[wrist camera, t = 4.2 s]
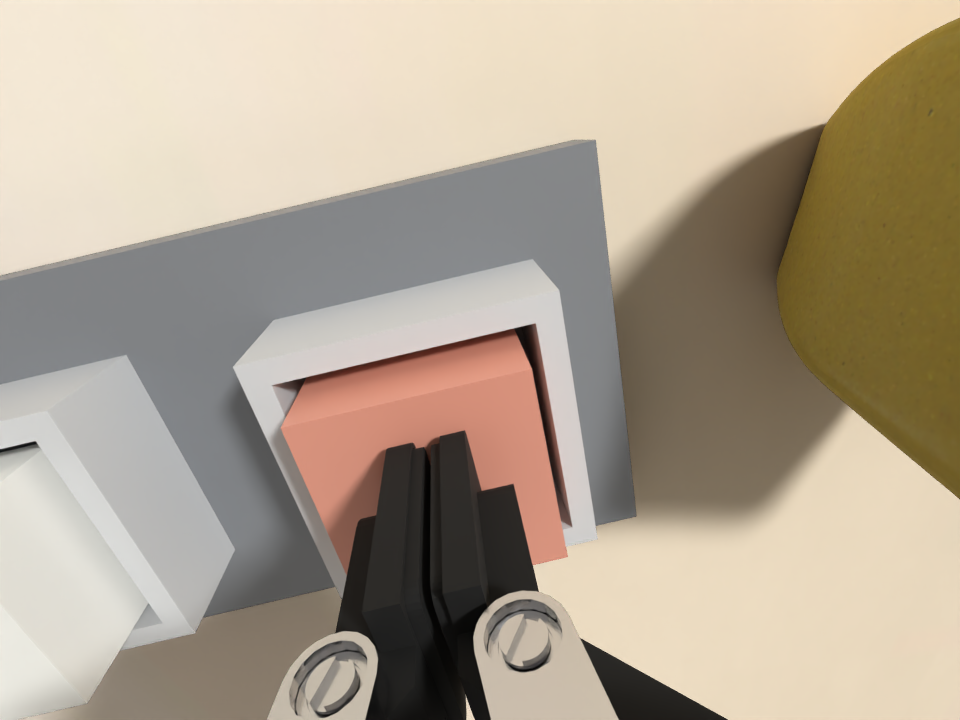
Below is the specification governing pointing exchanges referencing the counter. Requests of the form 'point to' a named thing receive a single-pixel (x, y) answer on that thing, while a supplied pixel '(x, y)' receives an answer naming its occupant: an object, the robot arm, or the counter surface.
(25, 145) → the counter surface
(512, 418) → the brick key
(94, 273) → the push button panel
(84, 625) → the white key
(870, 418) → the flower pot
